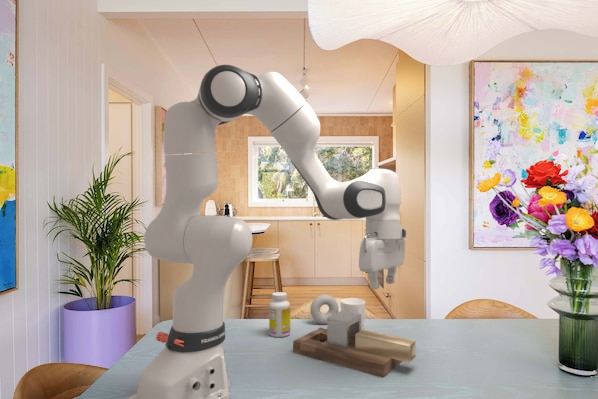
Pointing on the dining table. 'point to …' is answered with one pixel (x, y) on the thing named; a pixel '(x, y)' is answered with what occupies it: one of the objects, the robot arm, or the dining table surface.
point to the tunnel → (342, 329)
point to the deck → (343, 354)
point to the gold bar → (385, 345)
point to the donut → (317, 305)
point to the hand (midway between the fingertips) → (382, 286)
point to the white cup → (354, 307)
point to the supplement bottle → (279, 315)
